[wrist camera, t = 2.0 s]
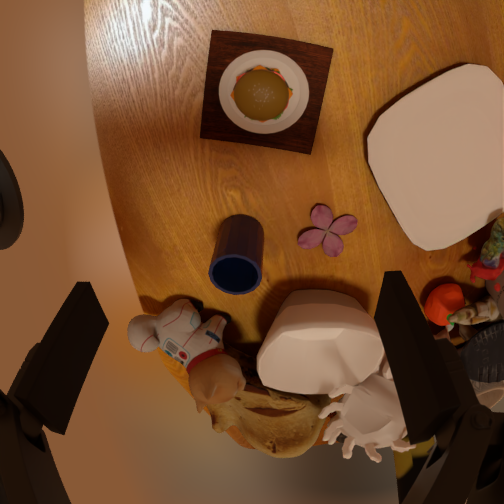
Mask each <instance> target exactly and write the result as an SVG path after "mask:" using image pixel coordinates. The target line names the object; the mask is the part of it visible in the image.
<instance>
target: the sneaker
mask: <svg viewBox="0 0 504 504" xmlns="http://www.w3.org/2000/svg"><path fill="white" fill-rule="evenodd" d="M460 360H462V363H463V365H464V369H466V372H467V374H468V376H469V379H470V380H473V381H476V382H485V383H491V382H500V381H502V380H504V319H503V318H502V320H500V321H499V320H498V321H495V322H494V323H491V324H489V325H488V326H486V327H484V328H482V329H481V330H480V331H478V332H477V333H476V334H475V335H474V336H472V337H471V338H470V339H469V340H468V341H467V342H466V344H465V345H464V347H463V349H462V351H461V354H460Z"/></svg>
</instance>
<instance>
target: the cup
mask: <svg viewBox="0 0 504 504" xmlns="http://www.w3.org/2000/svg"><path fill="white" fill-rule="evenodd" d="M263 251H264V231H263V228H262V226H261V224H260V223H259V222H258V221H257V220H256V219H254V218H253V217H250V216H247V215H234V216H231V217H229V218H227V219H226V220H225V221H224V222H223V223H222V224H221V226H220V229H219V233H218V237H217V241H216V244H215V248H214V252H213V256H212V260H211V264H210V268H209V272H208V274H209V277H210V280H211V282H212V283H213V284H214V285H215V287H216V288H218V289H220V290H221V291H223V292H225V293H229V294H233V295H239V294H246V293H249V292H251V291H253V290H255V289H256V288H257V287H258V286H259V285H260V282H261V279H262V269H263Z"/></svg>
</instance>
